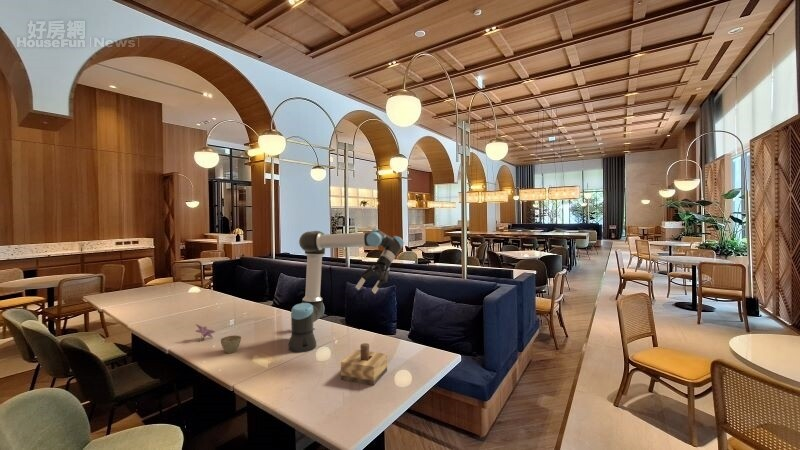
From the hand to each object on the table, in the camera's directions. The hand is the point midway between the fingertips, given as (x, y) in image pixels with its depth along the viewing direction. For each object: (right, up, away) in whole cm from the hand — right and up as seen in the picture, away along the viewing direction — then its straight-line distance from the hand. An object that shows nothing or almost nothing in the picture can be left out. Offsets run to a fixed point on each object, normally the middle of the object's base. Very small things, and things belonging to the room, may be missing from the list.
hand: (365, 290), depth 181 cm
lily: (-98, -34, +23) cm, 106 cm away
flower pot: (-73, -34, +4) cm, 81 cm away
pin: (+3, -32, -25) cm, 41 cm away
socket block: (+2, -34, -25) cm, 42 cm away
